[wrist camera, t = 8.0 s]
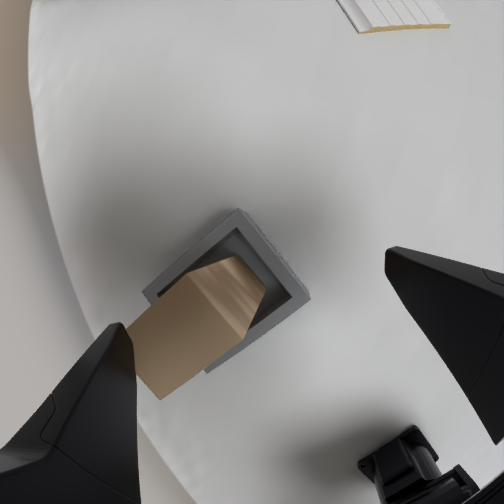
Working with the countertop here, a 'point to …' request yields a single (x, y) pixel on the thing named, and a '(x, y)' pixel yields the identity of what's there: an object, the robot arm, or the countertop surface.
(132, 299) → the countertop surface
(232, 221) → the end cap
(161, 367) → the slat
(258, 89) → the countertop surface
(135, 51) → the countertop surface
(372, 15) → the baseboard
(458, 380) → the robot arm
